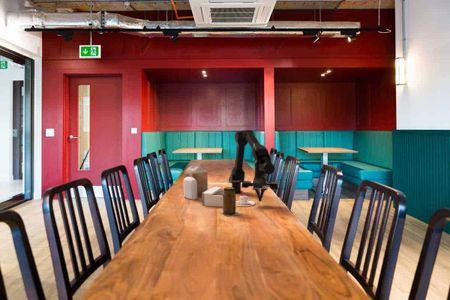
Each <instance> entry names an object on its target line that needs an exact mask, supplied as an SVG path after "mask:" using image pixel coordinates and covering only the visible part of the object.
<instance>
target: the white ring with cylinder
mask: <svg viewBox="0 0 450 300" xmlns="http://www.w3.org/2000/svg"><path fill="white" fill-rule="evenodd" d="M248 199H249V197H248V196H247V195H240V196H239V200H236V207H242V206H245V207H250V206H254V205H256V203H255V202H254V201H253V200H248ZM237 203H239V204H240V205H239V204H237Z"/></svg>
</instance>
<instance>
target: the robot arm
mask: <svg viewBox="0 0 450 300" xmlns="http://www.w3.org/2000/svg"><path fill="white" fill-rule="evenodd" d="M234 141H235V143H236V153H235V160H234V161H235V162H234V167H233V168H232V169H231V173H230V175H229V177H228V183H229V184H231V187H233V188H235V194H241V193H243V190H242V188H243V189H248V188H249V187H252V190H253V191H255V193H256V195H257V198H258V201H259V202H262V199H263V197H264V194H265V192H266V191H267V190H268V188H269V189H271V190H279V188H280V183H279V182H277V181H270V183H268V179H267V177H266V175H272V174H274V172H275V170H276V169H275V168H276V167H275V164H274V163H273V162H272V159H271V156H270V153H269V149H267V147H265V145H263V144H261V143H260V141H259V139H257V137H256V135H255V134H254V131H253V130H252V129H244V130H240V131H239V130H237V131H235V133H234ZM247 144H248V145H249V146H250V148H251V149H252V150H251V154H252V158H253V161H252V162H253V163H254V177H253V180H252V181H251V180H245V177H246V176H245V174H246V173H245V170H244V169H243V166H244V165H243V164H244V157H245V150H246V149H245V148H246V146H247Z"/></svg>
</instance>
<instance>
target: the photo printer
mask: <svg viewBox="0 0 450 300" xmlns="http://www.w3.org/2000/svg"><path fill="white" fill-rule="evenodd" d="M182 182H183V183H182V185H183V197H184V198H185V197H186V199H190V200H193V201H194V200H197V199H198V196H197V181H196V180H195V179H194V178H192V177H186V178H184V177H183V181H182Z"/></svg>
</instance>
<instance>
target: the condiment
mask: <svg viewBox="0 0 450 300" xmlns="http://www.w3.org/2000/svg"><path fill="white" fill-rule="evenodd" d="M223 189H224V194H223V207H222V210H221V211H219V213H220V214H222V215H225V216H226V217H231V216H232V217H233V216H239V215H241V213H240V212H238V211H237V210H236V209H237V206H236V205H237V203H236V201H237V195H236V194H237V193H235V188H233V187H232V186H228V187H224V188H223Z"/></svg>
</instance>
